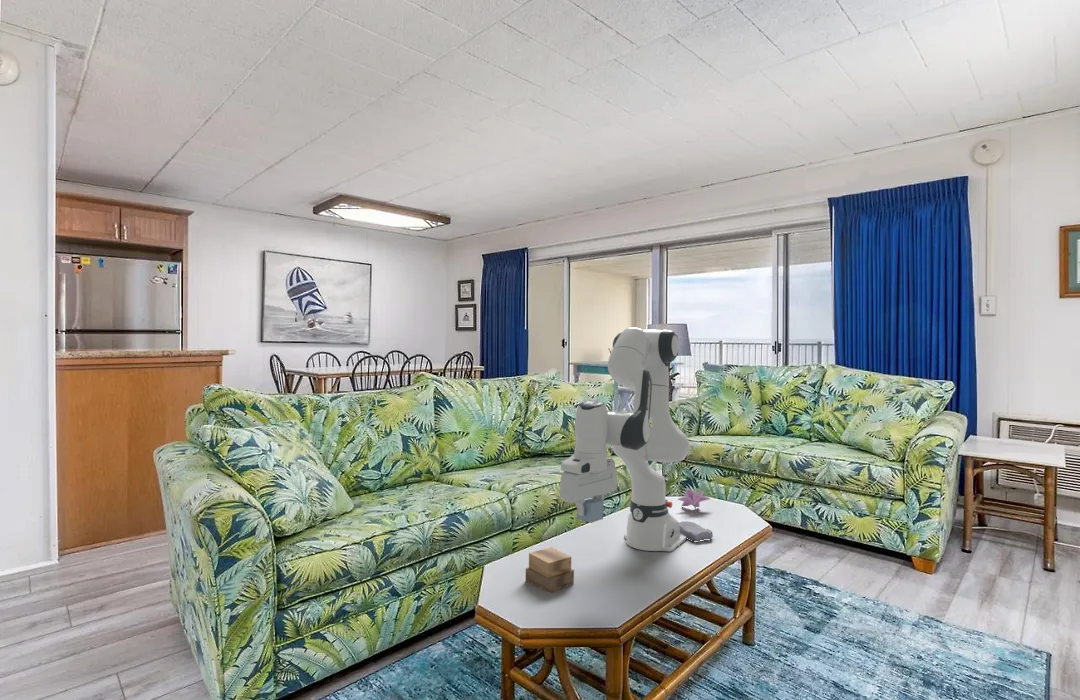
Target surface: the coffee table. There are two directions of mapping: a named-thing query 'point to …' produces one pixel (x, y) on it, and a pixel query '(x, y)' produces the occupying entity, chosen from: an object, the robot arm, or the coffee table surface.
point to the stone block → (694, 531)
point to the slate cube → (592, 510)
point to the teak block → (549, 562)
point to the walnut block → (549, 580)
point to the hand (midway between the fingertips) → (589, 512)
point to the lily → (693, 498)
